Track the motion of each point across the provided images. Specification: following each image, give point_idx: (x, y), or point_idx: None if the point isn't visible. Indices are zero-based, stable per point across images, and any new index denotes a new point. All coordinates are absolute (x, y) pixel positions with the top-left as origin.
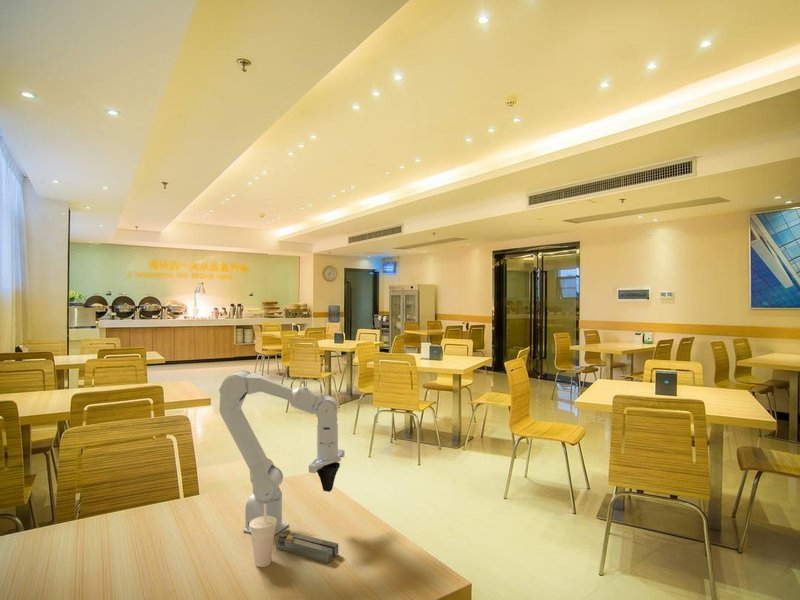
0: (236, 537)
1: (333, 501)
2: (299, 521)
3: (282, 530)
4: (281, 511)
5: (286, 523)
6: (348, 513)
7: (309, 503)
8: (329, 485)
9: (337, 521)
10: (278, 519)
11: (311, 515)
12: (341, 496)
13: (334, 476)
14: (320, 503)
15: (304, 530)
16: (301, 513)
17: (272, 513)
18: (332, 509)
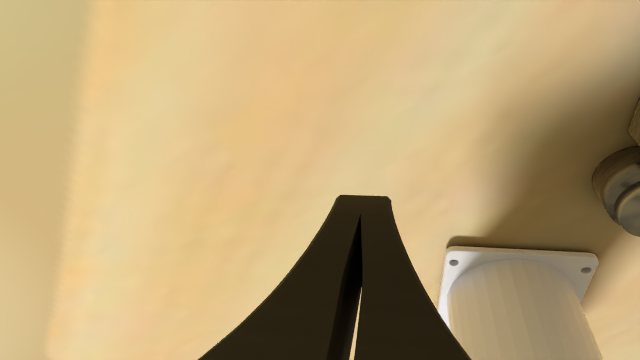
0: (604, 346)
1: (140, 197)
2: None
3: (633, 233)
4: (504, 325)
5: (452, 259)
6: (182, 57)
7: (227, 269)
8: (401, 241)
9: (297, 60)
10: (535, 299)
11: (313, 211)
12: (77, 191)
13: (304, 293)
14: (196, 234)
15: (465, 163)
16: None
17: (585, 349)
18: (205, 159)
